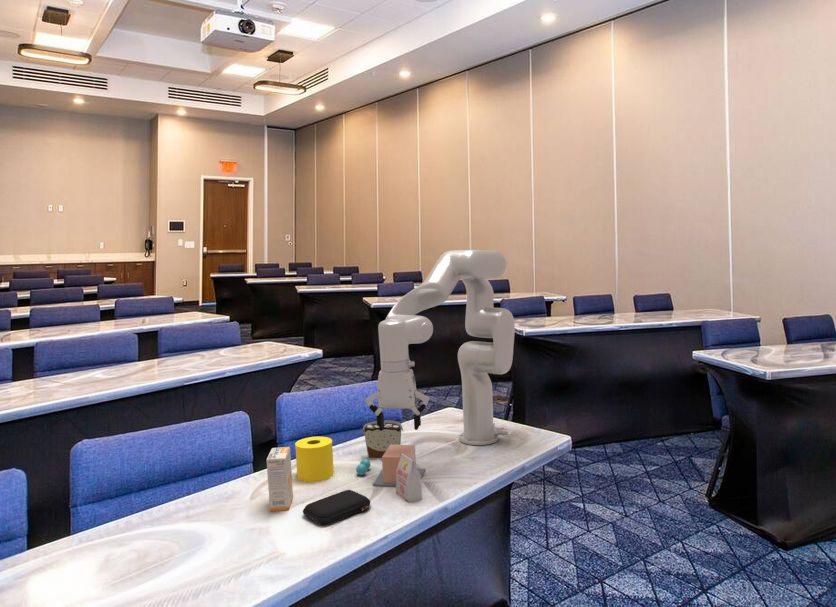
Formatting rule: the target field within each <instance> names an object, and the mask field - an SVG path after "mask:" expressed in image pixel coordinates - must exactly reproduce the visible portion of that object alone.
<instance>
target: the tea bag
mask: <svg viewBox="0 0 836 607" xmlns="http://www.w3.org/2000/svg"><path fill="white" fill-rule="evenodd" d="M417 468H418V467H417V464H416V465H415V463H414V461H413V460H412V459H410V458H408V457H407V456H405V455H404V454H400V458H399V461H398V464H397V467H396V470H395V476H396V487H395V489H396V490H395V491H396V492H395V493H396V495H398V496H399V497H401V498H402V499H403V500H405V501H406V502H407V503H412V502H416V501H420V500H423V494H422V479H421V475H420V473H419V471H418V469H417Z"/></svg>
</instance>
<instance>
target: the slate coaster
mask: <svg viewBox="0 0 836 607" xmlns="http://www.w3.org/2000/svg"><path fill="white" fill-rule="evenodd" d="M416 468H417V469H418V471H419V473H420V475H421V480H422V479H423V477H424V474H425V471H426V468H424V467H423V468H421V467H420V468H419V467H416ZM372 487H389V488H391V487H394V488H396V483H383V468H382V469H381V470H380V472H379V474H378V475H377V476H376V478H375V480H374V481H373V483H372Z"/></svg>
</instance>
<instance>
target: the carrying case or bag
mask: <svg viewBox="0 0 836 607" xmlns="http://www.w3.org/2000/svg"><path fill="white" fill-rule="evenodd" d="M370 506H371V499H370V498H368V497H367V496H366V495H363V494H361V493H359V492H357V491H354V490H352V489H346V490H342V491H339V492H338V493H337V492H336V493H335V494H331V495H329V496H328V495H327V496H326V497H322V498H320V499H318V500H316V501H312V502H310V503H308V504H306V505H305V506H304V508H303V509H302V515H304V516H306V518H308V519H310V520H311V521H313V522H315V523H317V524H319V525H321V526H327V525H330V524H333V523H335V522H339V521H340V520H343V519H345V518H348V517H351V516H353V515H356V514H357V513H362V512H364V511H365V510H367V509H369V507H370Z"/></svg>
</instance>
